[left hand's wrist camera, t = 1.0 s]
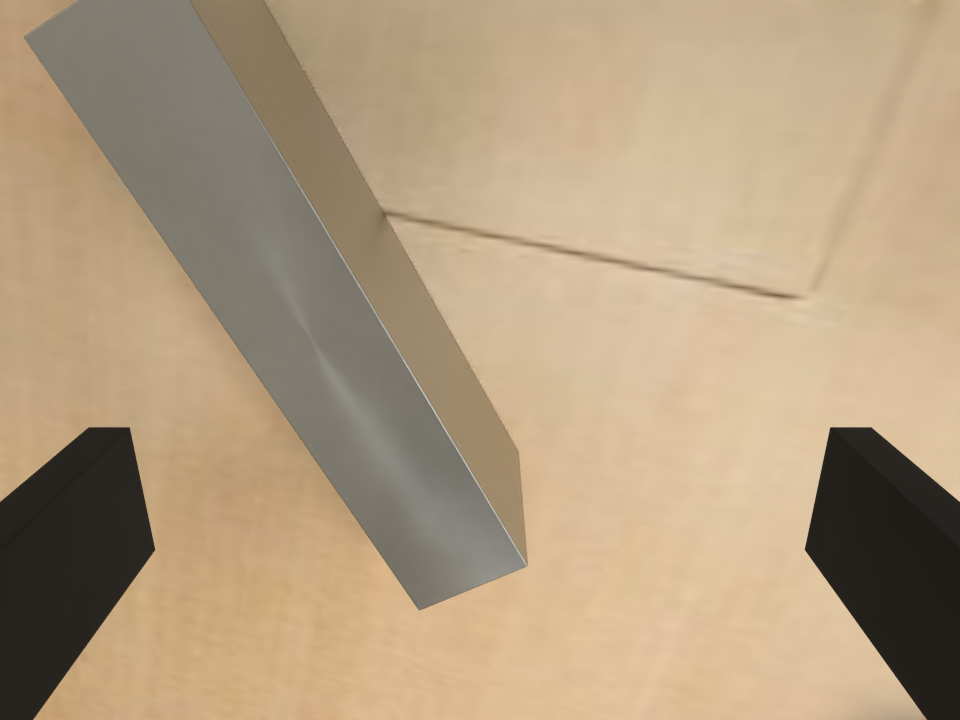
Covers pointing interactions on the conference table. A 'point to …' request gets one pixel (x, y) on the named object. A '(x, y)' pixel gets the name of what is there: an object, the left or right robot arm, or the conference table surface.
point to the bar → (299, 272)
